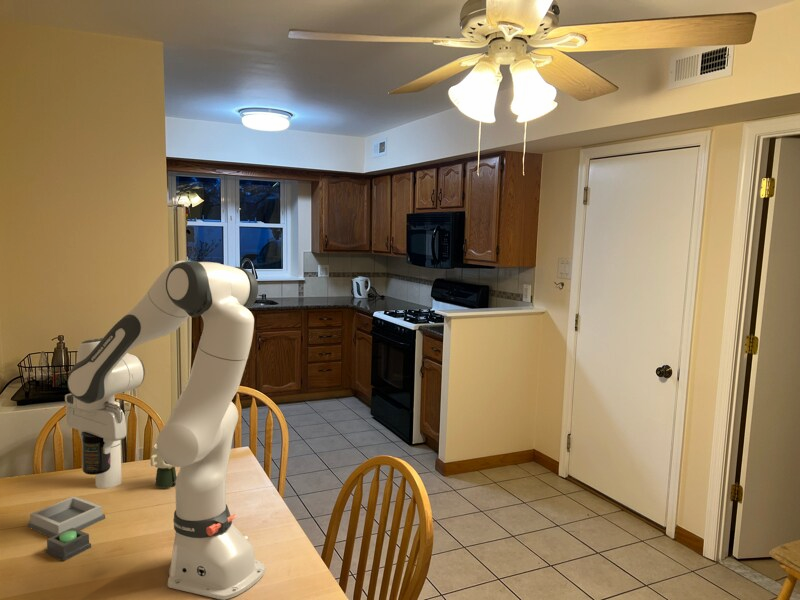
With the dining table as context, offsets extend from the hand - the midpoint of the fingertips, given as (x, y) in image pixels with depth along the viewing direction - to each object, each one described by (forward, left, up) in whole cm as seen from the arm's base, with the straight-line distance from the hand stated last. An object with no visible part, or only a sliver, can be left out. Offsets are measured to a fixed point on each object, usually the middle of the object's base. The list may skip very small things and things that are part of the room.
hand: (96, 449), depth 151 cm
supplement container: (0, 0, -6) cm, 6 cm away
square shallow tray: (+6, +5, -20) cm, 21 cm away
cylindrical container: (+18, -16, -20) cm, 32 cm away
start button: (-7, +13, -19) cm, 23 cm away
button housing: (-7, +13, -20) cm, 25 cm away
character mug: (+2, -24, -20) cm, 32 cm away
